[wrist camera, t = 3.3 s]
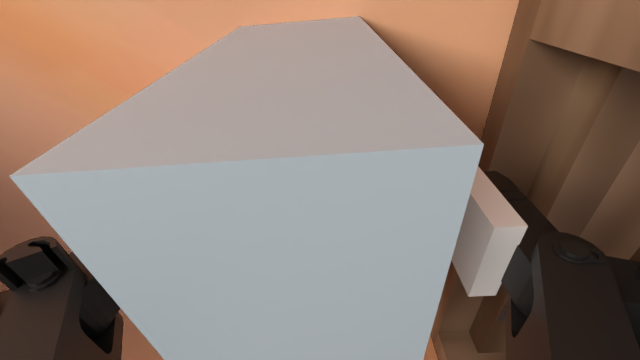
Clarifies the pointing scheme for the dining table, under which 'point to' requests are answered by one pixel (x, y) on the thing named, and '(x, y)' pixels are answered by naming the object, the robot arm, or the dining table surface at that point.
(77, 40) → the dining table surface
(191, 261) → the plain grey rectangular block
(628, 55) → the track base
